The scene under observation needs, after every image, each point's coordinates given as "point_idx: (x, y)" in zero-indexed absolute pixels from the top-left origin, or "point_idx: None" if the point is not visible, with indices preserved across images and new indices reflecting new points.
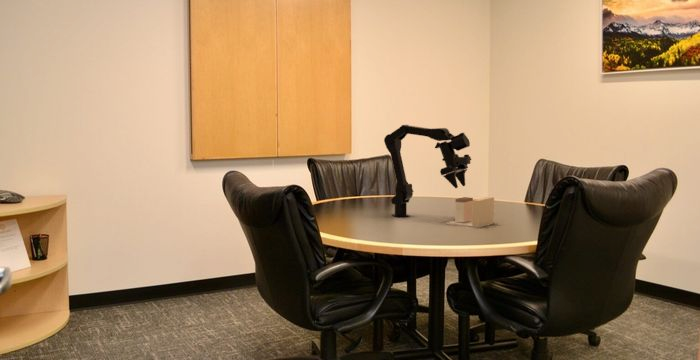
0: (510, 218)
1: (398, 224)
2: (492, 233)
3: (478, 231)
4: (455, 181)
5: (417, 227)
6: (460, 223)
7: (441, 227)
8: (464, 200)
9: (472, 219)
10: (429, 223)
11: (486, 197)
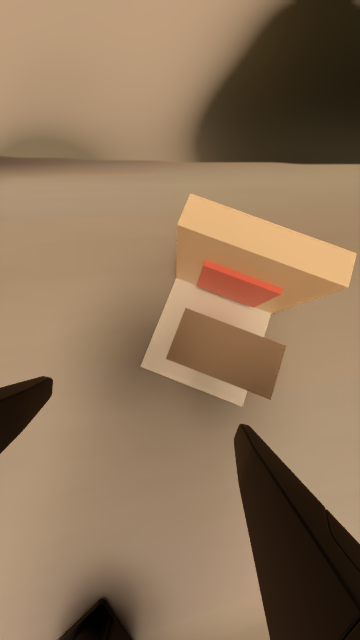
0: (69, 222)
1: None
2: None
3: None
4: (309, 494)
5: (329, 492)
6: None
7: (298, 409)
8: (275, 343)
9: (283, 309)
10: None
11: (209, 229)
